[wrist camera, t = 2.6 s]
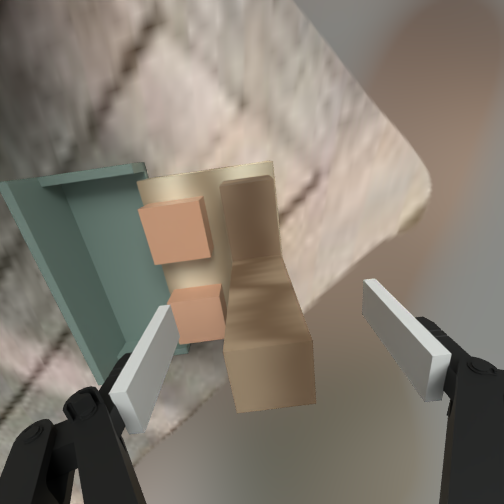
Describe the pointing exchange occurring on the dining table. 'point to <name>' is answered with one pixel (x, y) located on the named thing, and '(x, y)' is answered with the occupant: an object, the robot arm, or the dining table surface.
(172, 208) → the tile front
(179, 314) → the tile back
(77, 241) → the box
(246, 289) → the t-shaped wooden block
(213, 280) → the beige slotted plate
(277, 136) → the dining table surface
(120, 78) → the dining table surface
